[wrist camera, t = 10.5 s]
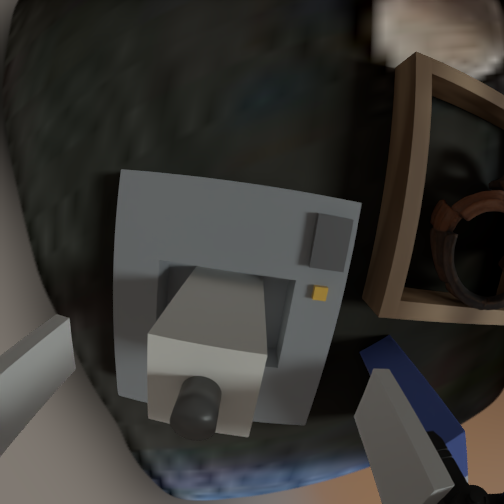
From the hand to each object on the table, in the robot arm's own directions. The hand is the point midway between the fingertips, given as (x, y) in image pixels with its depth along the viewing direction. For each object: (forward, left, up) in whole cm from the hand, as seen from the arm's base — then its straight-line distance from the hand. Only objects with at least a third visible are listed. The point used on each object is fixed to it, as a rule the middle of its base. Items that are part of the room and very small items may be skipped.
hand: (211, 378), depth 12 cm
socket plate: (0, 0, -10) cm, 10 cm away
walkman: (-14, +5, -10) cm, 18 cm away
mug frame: (-17, -10, -10) cm, 22 cm away
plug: (0, 0, -9) cm, 9 cm away
